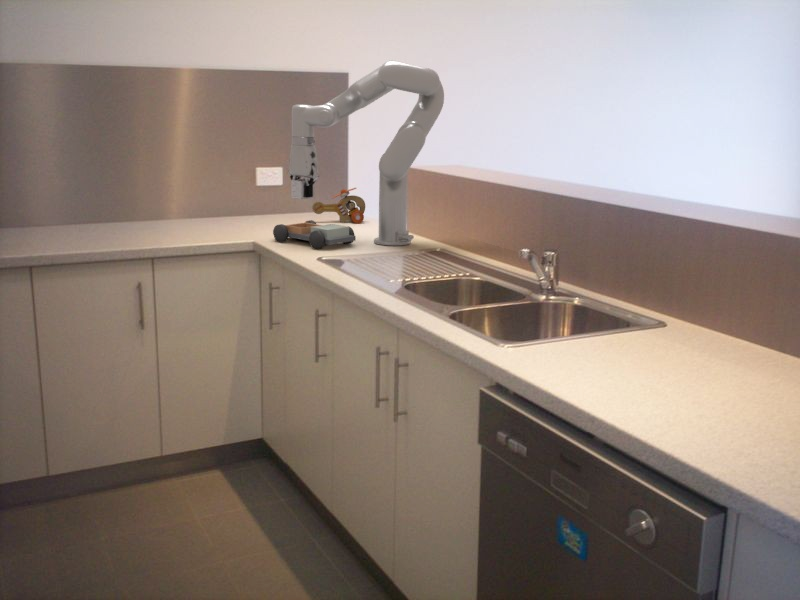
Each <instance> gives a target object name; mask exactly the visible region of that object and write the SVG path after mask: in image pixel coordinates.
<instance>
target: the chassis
mask: <svg viewBox="0 0 800 600" xmlns="http://www.w3.org/2000/svg"><path fill="white" fill-rule="evenodd" d="M272 234H273V236H274V237H273V238H274V239H275V241H276V242H278V243H284V242H286V241H288V238H290V239H291V238H293V239H296V240H298V239H299V240H303V241H308V242H309V245H310V247H311V248H312V249H314V250H321V249H323V248H324V246H325V245H328V246H329V245H335V244H343V245H350V244H351V245H352V243H353V242H355V241H356V235H355V232H354V230H353V228H352V227H351V226H348V225H340V224H333V223H331V224H323V225H322V224H317V222H316V221H314V220H312V219H311V220H306V221H304V222H299V223H292V224H283V223H281V224H276V225H274V228H273V229H272Z"/></svg>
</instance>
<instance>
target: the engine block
mask: <svg viewBox="0 0 800 600" xmlns="http://www.w3.org/2000/svg"><path fill="white" fill-rule="evenodd" d="M290 180H291V179H290ZM290 182H291V189H290V190H291V192H290V193H291V195H290V196H291V199H297V200H307V199H308V200H309V199H315V187H316V186H315V184H316V183H314V185H313V197H308V198H306V197H305V186H307V185H306V182H305V177H304V178H301V179H297V180H291V181H290Z"/></svg>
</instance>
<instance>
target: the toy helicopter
mask: <svg viewBox="0 0 800 600" xmlns="http://www.w3.org/2000/svg"><path fill="white" fill-rule="evenodd" d="M354 190H357V187H353V188H350V189H348V190H347V189H345V188H344V189H341V191H340V193H338V194H336V195H334V196H332V197H331V199H334V198H337V197H339V196H340V198H341V199H340V200H339V201H338V202H337V203H336V202H335V203H323V202H321V201H315V202H314V203H312V207H311V208H312V211H313V213H314V214H317V215H321V214H323V213H326V212H329V213H331V212H332V213H337V215H338V216H339V222H340V223H341V224H342V223H345V222H353V223H355V224H361V223H362V222H364V220H365V216H364V213H365V212H366V211H365V210H366V203H365V200H364V199H363V197H360V196H358V195H354V194H353V195H352V194H351V195H350V192H351V191H354Z"/></svg>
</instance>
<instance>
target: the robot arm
mask: <svg viewBox="0 0 800 600" xmlns="http://www.w3.org/2000/svg"><path fill="white" fill-rule="evenodd" d="M395 89H396V90H399V91H403V92H408V93H413V94H417V95H418V99H417V102H416V103H415V105H414V106H413V109H412V110H411V112H410V114H409V115H408V117H407V119H406V120H405V121H404V123H403V124H402V125H401V126H400V127H399V128H398V130H397V132H396V134H395V136H394V137H393V139H391V140H392V141H391V142H390V143H389V145H388V146H387V148H386V150H385V151H384V153H383V154H382V155H381V157H380V159H379V162H378V170H379V178H378V179H379V181H378V182H379V183H378V184H379V189H378V192H379V193H378V194H379V195H378V237H375V238H374V239H373V243H374V244H376V245H381V246H389V247H390V246H393V247H394V246H406V245H410V244H411V241H412V240H414V237H415V235H414V234H409V233H410V232H409V230H407V223H408V222H407V213H408V212H407V209H408V179H409V178H408V173H409V172H408V171H409V170H410V168H411V166H412V165H413V163H414V162H415V160H416V159H417V157H418V156H419V154H420V152H421V151H422V149H423V147H424V145H425V143H426V141H427V140H426V139H427V136H428V134H429V133H430V131H431V130H432V128H433V126H434V125H435V123H436V121H437V119H438V118H439V116H440V114H441V112H442V110H443V106H444V102H445V92H444V91H445V90H444V87H443V84H442V82H441V79H440V76H439V74H438V73H437V72H436V71H435V70H434V69H431V68H427V67H424V66H418V65H414V64H408V63H403V62H400V61H396V60H388V61H385V62H384V63H383V64H382V65H381V66H379V67H377V68H376V69H374V70H372V71H371V72H370V73H368V74H366V75H365V76H363V77H361V78H360V79H358V80H356V81H355V82H354V83H352V84H351V85H350V86H349V87H348V88H347V89H346V90H344V91H343V92H341V93H340V94H339V95H337V96H336V97H333V98H332V99H331V100H329V101H328V102H325V103H324V104H319V105H311V104H302V103H301V104H297V103H296V104H294V105H292V107H291V146H290V151H289V168H288V170H287V175H288V176H289V178H290V180H297V179H302V177H304V178H305V182H306V185H307V186H305V197H306V198H308V197H313V185H314V183H315V182H316V181H317V180H318V179H319V178H320V175H319V158H318V150H317V147H316V146H315V143H316V141H315V127H318V128H324V129H326V128H330V127H332V126H334V125H335V124H338V123H339V122H340V121H342V120H344V119H345V118H347V117H348V116H350V115H352V114H354V113H355V112H358V111H359V110H362V109H364V108H366V107H367V106H369V105H371V104H373V103H374V102H375V101H377V100H379V99H380V98H382V97H383V96H385V95H387V94H388V93H391V92H392V91H393V90H395ZM315 184H316V183H315Z"/></svg>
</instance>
